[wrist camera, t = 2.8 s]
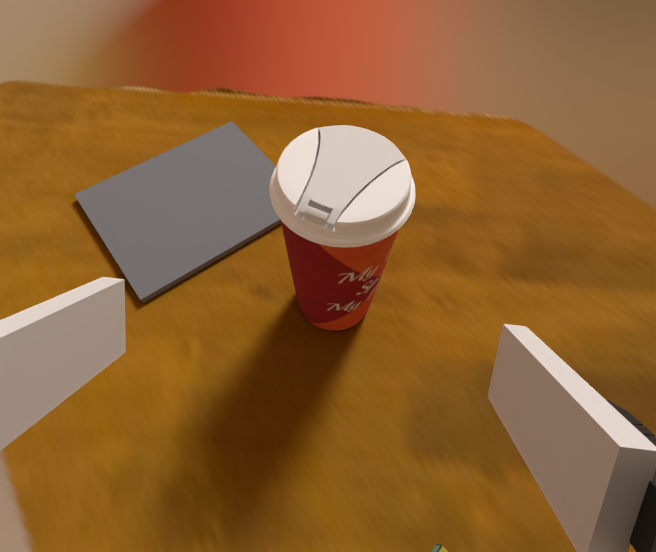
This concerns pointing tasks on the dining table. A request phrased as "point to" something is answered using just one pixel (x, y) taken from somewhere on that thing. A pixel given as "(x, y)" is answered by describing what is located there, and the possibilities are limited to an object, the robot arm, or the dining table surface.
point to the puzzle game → (439, 548)
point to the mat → (183, 208)
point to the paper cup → (340, 218)
